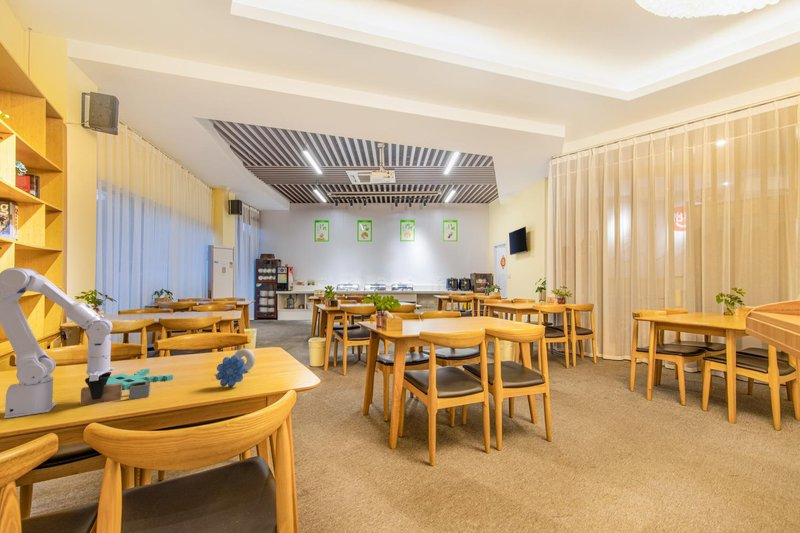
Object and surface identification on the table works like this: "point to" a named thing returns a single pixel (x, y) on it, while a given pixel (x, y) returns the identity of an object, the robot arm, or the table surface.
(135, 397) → the end cap
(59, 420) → the table surface
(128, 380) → the alien figure
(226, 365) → the blue bumpy cluster
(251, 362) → the donut
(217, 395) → the table surface
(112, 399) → the slat
